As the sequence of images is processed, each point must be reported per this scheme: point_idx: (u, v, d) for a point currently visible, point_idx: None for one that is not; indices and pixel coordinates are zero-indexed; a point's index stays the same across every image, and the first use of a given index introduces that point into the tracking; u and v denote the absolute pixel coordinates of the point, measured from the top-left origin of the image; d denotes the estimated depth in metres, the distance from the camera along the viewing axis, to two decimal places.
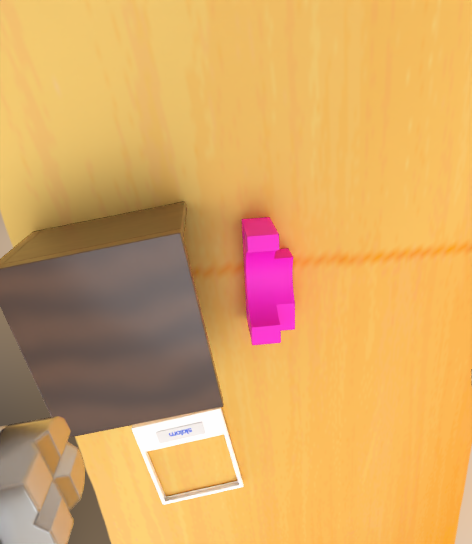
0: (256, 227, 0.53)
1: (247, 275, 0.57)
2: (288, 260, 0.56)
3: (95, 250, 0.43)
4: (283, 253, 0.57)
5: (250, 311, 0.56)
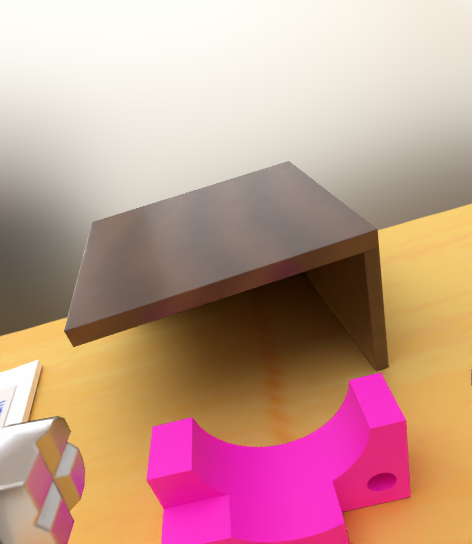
0: None
1: (286, 445, 0.29)
2: (334, 514, 0.24)
3: (328, 192, 0.37)
4: None
5: (217, 440, 0.28)
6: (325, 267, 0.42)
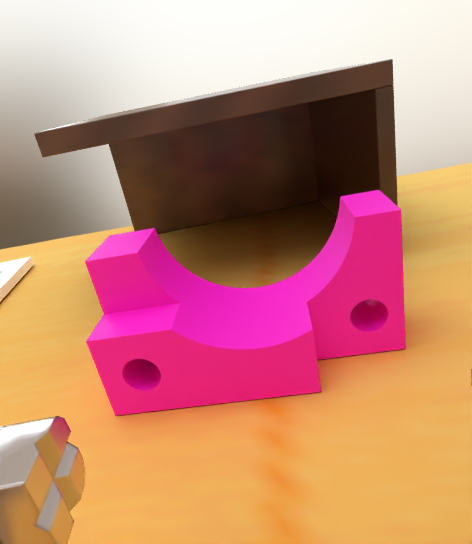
0: None
1: (261, 287, 0.25)
2: (302, 326, 0.19)
3: None
4: None
5: (181, 267, 0.24)
6: (339, 165, 0.38)
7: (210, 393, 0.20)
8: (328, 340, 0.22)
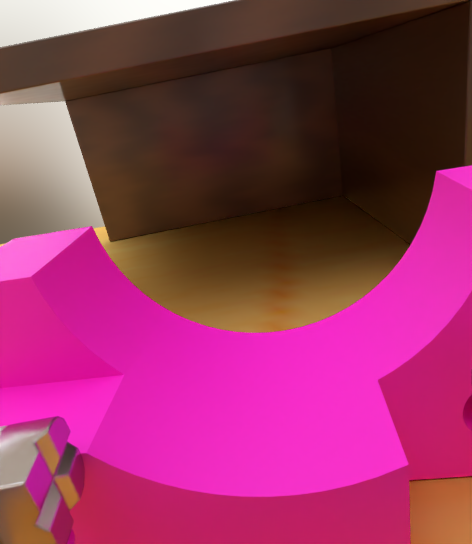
0: None
1: (281, 333, 0.14)
2: (378, 446, 0.09)
3: None
4: None
5: (141, 295, 0.14)
6: (381, 144, 0.27)
7: None
8: (414, 449, 0.11)
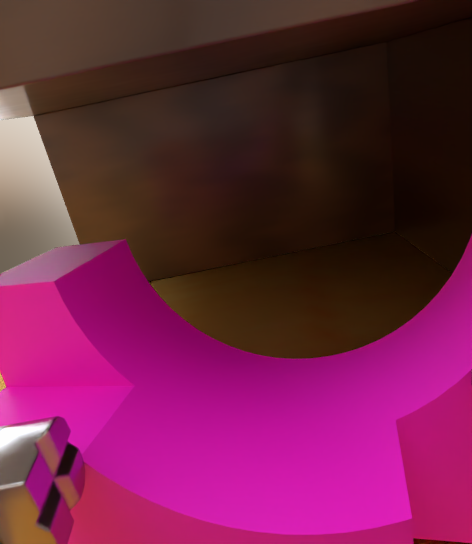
0: None
1: (306, 361, 0.14)
2: (383, 493, 0.08)
3: None
4: None
5: (168, 310, 0.14)
6: None
7: None
8: (438, 505, 0.10)
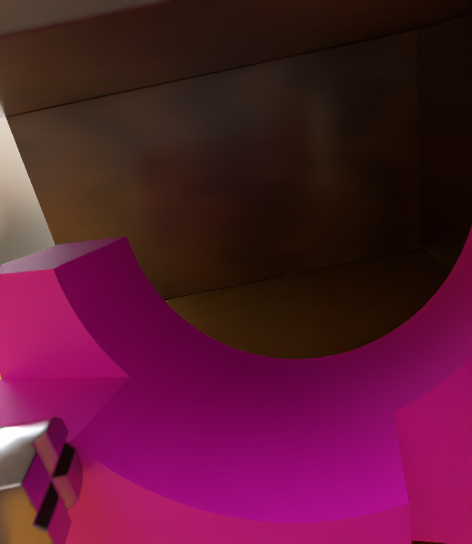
0: None
1: (305, 361, 0.13)
2: (380, 481, 0.08)
3: None
4: None
5: (167, 308, 0.14)
6: None
7: None
8: (438, 504, 0.10)
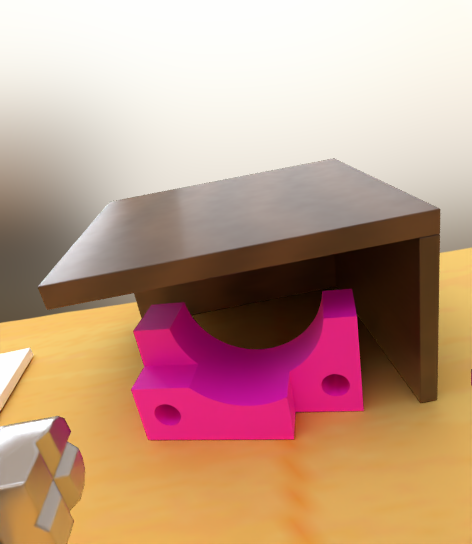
0: None
1: (262, 350, 0.33)
2: (281, 392, 0.27)
3: None
4: (291, 406, 0.28)
5: (202, 330, 0.33)
6: (365, 274, 0.35)
7: (215, 432, 0.29)
8: (305, 399, 0.29)
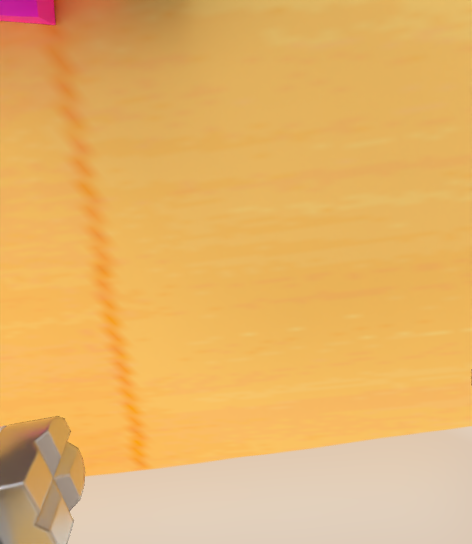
0: None
1: None
2: (31, 5, 0.27)
3: None
4: (45, 4, 0.28)
5: None
6: None
7: None
8: None
